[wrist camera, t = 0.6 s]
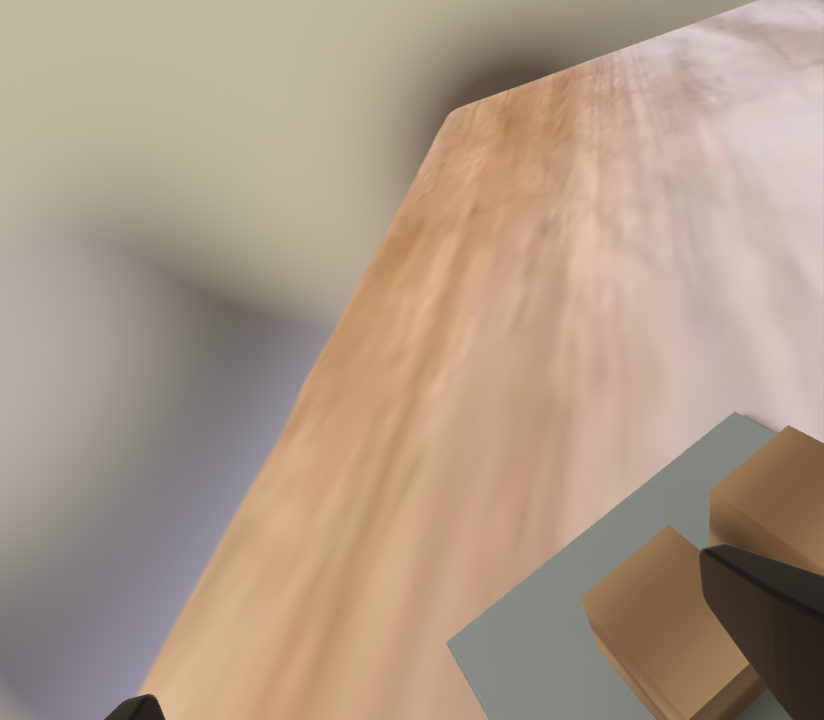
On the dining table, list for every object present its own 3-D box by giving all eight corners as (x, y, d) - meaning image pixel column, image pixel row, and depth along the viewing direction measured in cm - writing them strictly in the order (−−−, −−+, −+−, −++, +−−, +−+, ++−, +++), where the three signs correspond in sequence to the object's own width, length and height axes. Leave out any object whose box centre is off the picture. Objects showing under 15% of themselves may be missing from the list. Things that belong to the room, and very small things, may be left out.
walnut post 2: (889, 571, 18) (928, 497, 15) (814, 642, 17) (839, 579, 14) (775, 499, 21) (788, 425, 18) (708, 556, 20) (710, 490, 17)
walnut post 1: (775, 680, 17) (791, 624, 14) (690, 760, 16) (688, 719, 13) (673, 587, 20) (668, 524, 17) (599, 650, 19) (580, 597, 16)
